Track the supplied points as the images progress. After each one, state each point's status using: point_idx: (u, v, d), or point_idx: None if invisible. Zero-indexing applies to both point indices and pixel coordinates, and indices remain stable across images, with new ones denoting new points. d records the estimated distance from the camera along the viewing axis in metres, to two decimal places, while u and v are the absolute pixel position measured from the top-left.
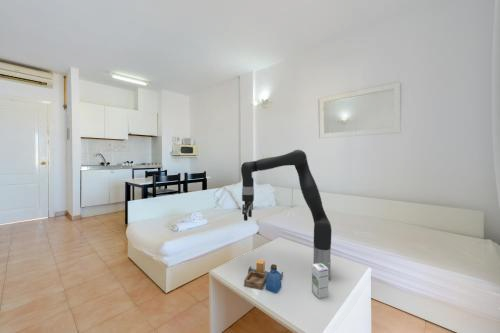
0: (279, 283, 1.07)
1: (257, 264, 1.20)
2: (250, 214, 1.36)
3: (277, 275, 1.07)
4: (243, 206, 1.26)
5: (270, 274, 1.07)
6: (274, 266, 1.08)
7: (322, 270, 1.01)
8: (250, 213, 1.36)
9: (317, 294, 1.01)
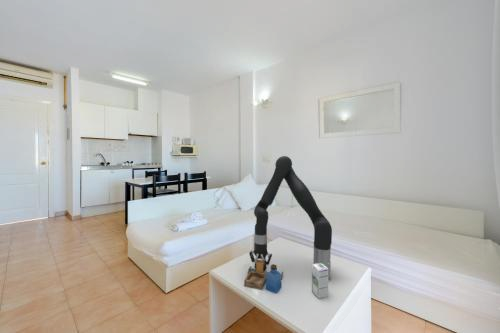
0: (279, 283, 1.07)
1: (257, 264, 1.20)
2: None
3: (277, 275, 1.07)
4: None
5: (270, 274, 1.07)
6: (274, 266, 1.08)
7: (322, 270, 1.01)
8: None
9: (317, 294, 1.01)
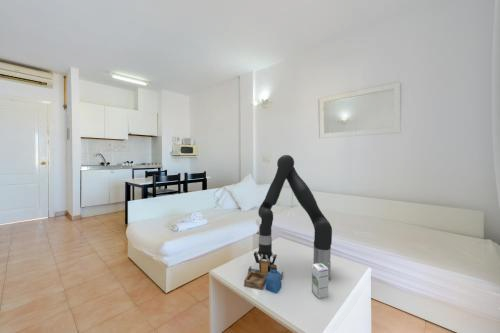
0: (279, 283, 1.07)
1: (262, 265, 1.19)
2: None
3: (277, 275, 1.07)
4: (275, 258, 1.18)
5: (270, 274, 1.07)
6: (274, 266, 1.08)
7: (322, 270, 1.01)
8: None
9: (317, 294, 1.01)
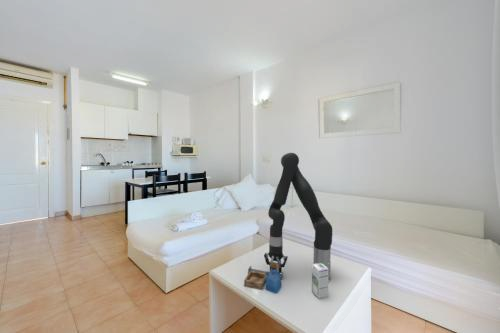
0: (279, 283, 1.07)
1: None
2: None
3: (277, 275, 1.07)
4: (286, 259, 1.17)
5: (270, 274, 1.07)
6: (274, 266, 1.08)
7: (322, 270, 1.01)
8: None
9: (317, 294, 1.01)
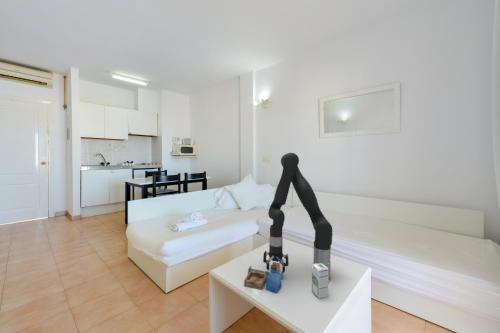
0: (279, 283, 1.07)
1: None
2: None
3: (277, 275, 1.07)
4: (287, 257, 1.16)
5: (270, 274, 1.07)
6: (274, 266, 1.08)
7: (322, 270, 1.01)
8: None
9: (317, 294, 1.01)
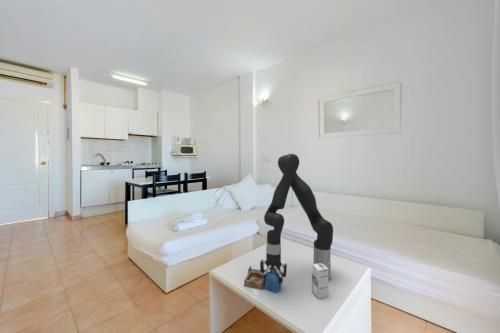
0: None
1: None
2: None
3: (277, 275, 1.07)
4: (286, 267, 1.06)
5: (270, 274, 1.07)
6: None
7: (322, 270, 1.01)
8: None
9: (317, 294, 1.01)
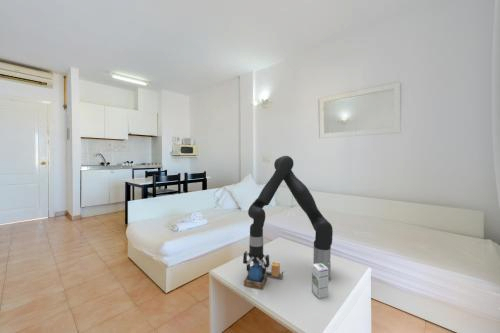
0: (262, 276, 1.12)
1: (272, 267, 1.17)
2: (249, 267, 1.15)
3: (260, 268, 1.12)
4: (268, 258, 1.10)
5: (253, 268, 1.12)
6: None
7: (322, 270, 1.01)
8: (249, 266, 1.15)
9: (317, 294, 1.01)
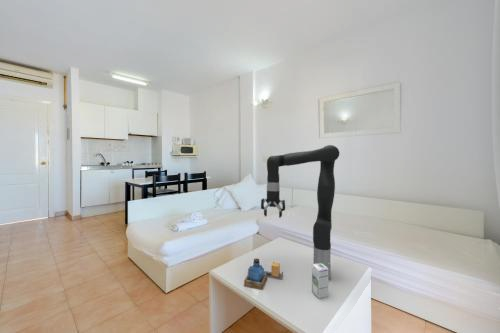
0: (262, 276, 1.12)
1: (272, 267, 1.17)
2: (266, 213, 1.25)
3: (260, 268, 1.12)
4: (284, 202, 1.21)
5: (253, 268, 1.12)
6: (257, 260, 1.13)
7: (322, 270, 1.01)
8: (266, 212, 1.25)
9: (317, 294, 1.01)
